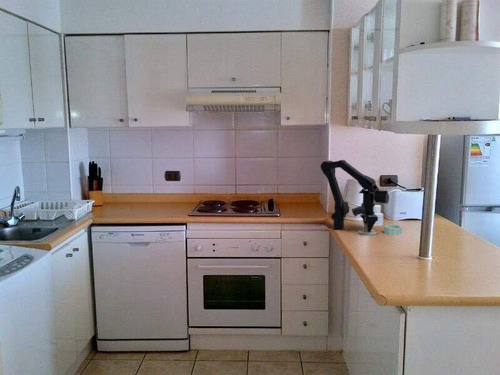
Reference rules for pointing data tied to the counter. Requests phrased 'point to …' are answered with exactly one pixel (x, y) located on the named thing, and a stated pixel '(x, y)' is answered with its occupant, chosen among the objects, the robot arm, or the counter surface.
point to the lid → (367, 230)
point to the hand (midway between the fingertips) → (367, 230)
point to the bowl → (392, 229)
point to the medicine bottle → (378, 215)
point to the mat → (365, 234)
